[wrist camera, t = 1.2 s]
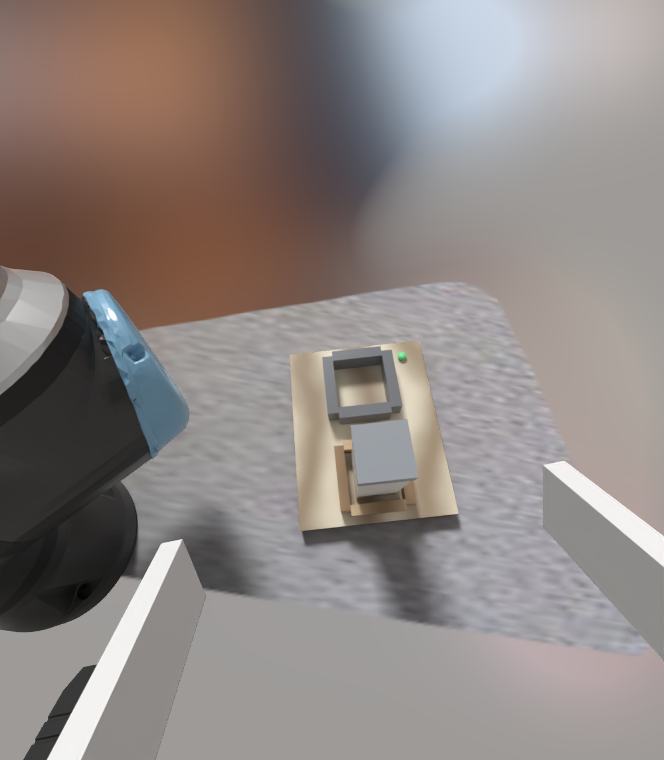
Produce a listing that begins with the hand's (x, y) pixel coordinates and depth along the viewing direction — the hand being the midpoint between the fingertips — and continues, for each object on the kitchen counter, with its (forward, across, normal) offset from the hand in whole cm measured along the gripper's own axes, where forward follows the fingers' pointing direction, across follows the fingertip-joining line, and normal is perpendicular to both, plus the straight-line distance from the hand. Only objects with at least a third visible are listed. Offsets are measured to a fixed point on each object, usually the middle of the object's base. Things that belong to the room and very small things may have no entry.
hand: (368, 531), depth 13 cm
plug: (+21, +2, -12) cm, 25 cm away
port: (+28, +4, -5) cm, 29 cm away
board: (+26, +2, -9) cm, 28 cm away
